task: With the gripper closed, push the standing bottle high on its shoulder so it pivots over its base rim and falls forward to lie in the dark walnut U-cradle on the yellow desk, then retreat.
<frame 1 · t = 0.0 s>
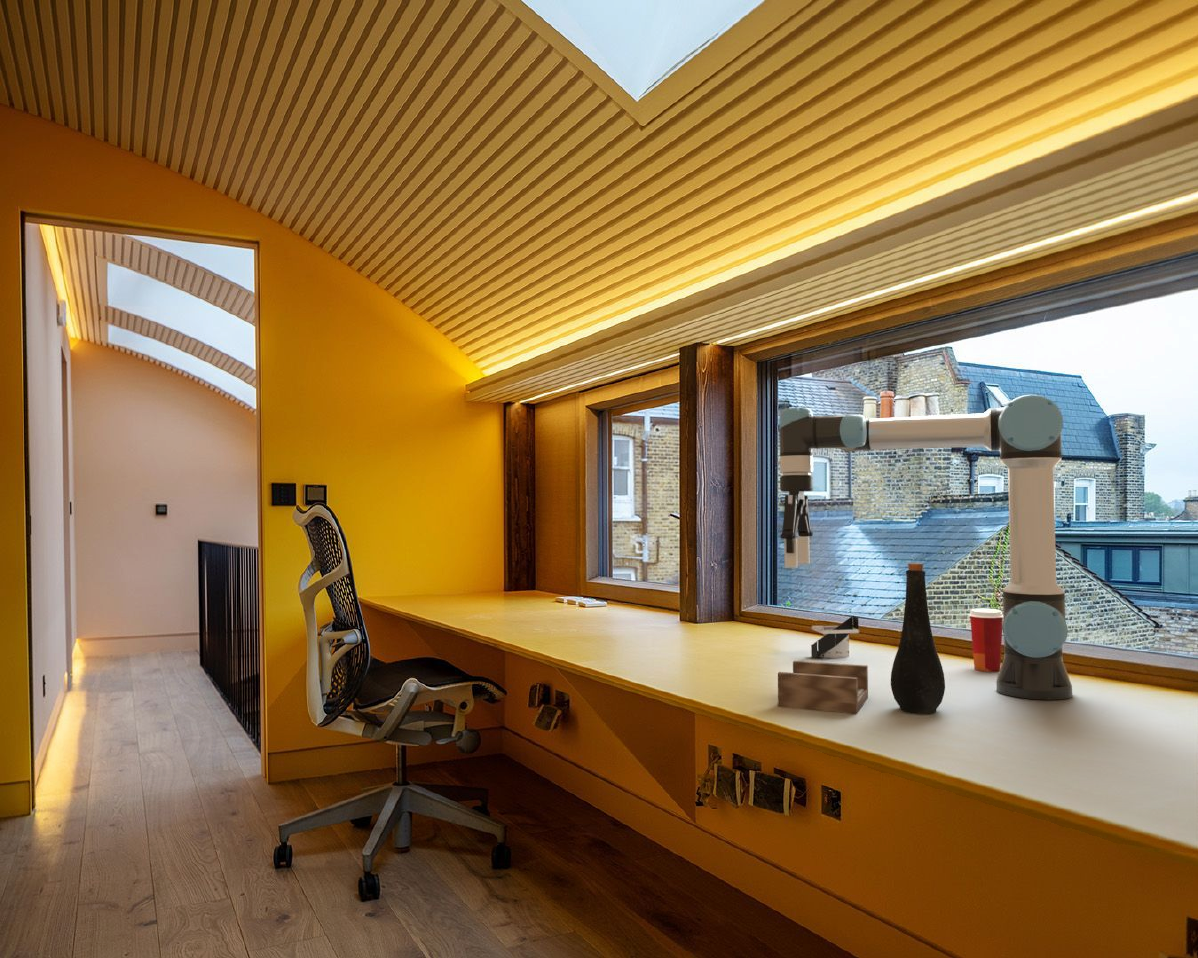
hand: (797, 565, 205), 28 cm above the table, fingers open, 13 cm apart
bottle: (918, 711, 181), on the table
cradle: (824, 702, 189), on the table
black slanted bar: (835, 661, 241), on the table
coffee cup: (986, 670, 224), on the table
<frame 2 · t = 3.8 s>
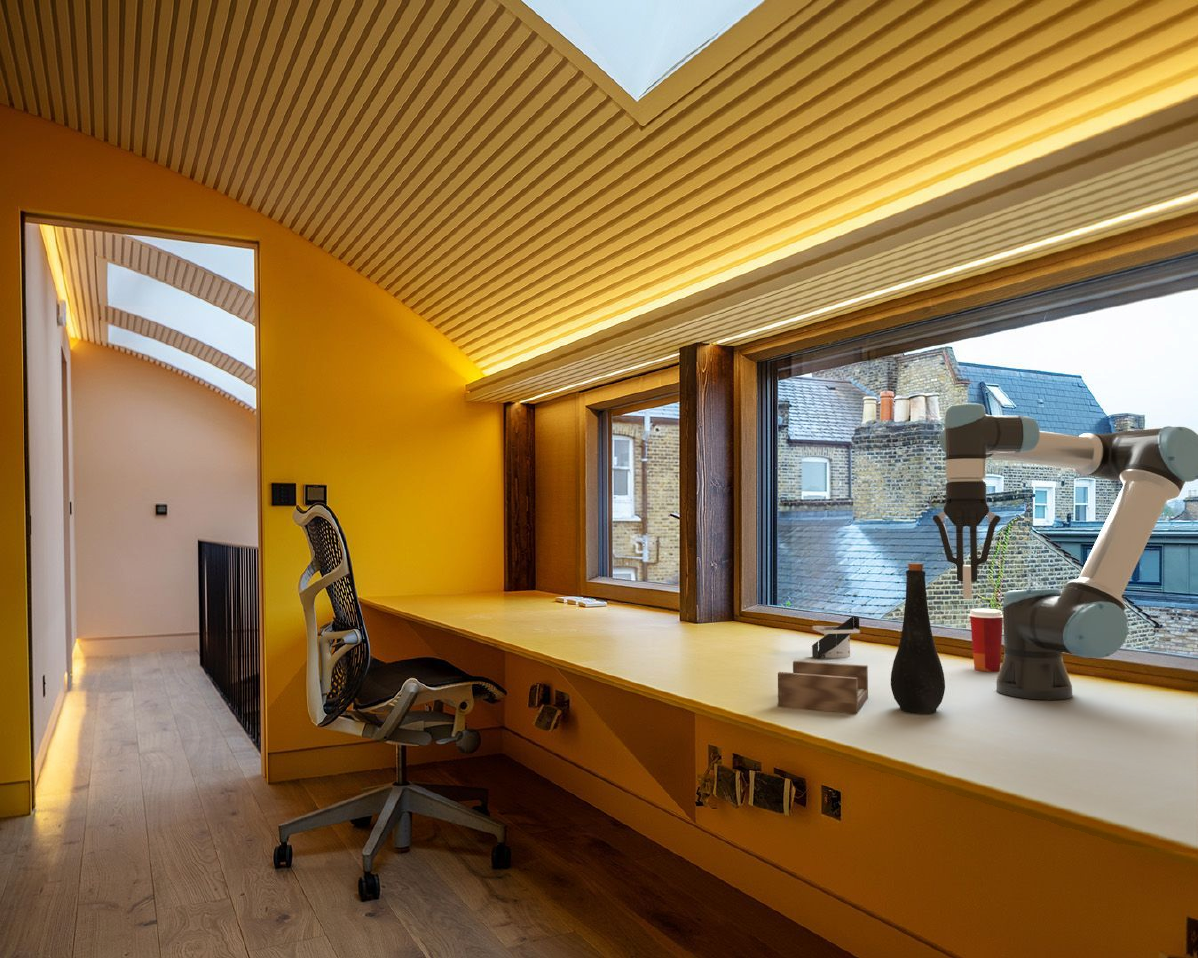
hand: (967, 598, 177), 23 cm above the table, fingers closed
nothing on the table moved.
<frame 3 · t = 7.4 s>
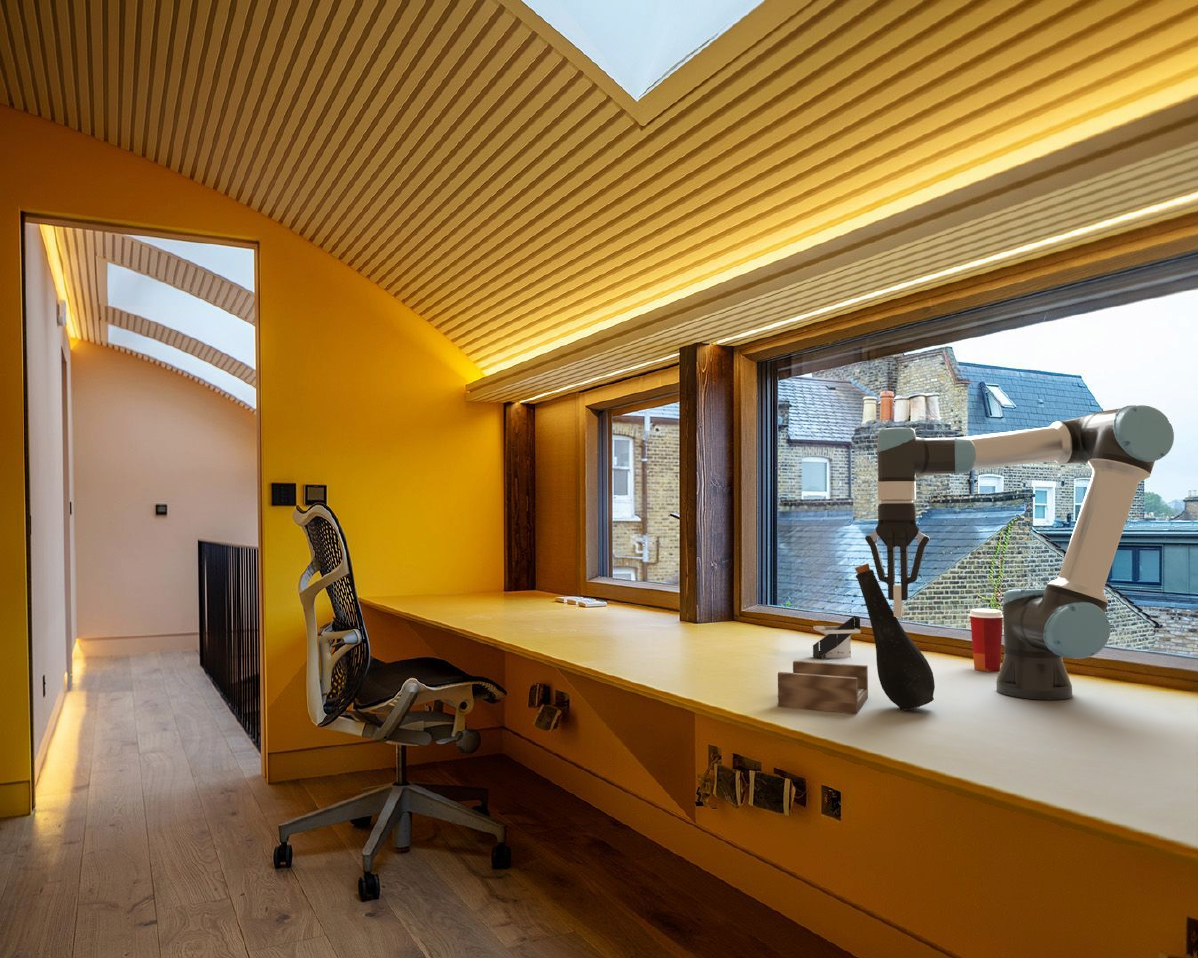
hand: (898, 616, 183), 19 cm above the table, fingers closed
bottle: (917, 704, 181), point 1 cm above the table
everything else where it was.
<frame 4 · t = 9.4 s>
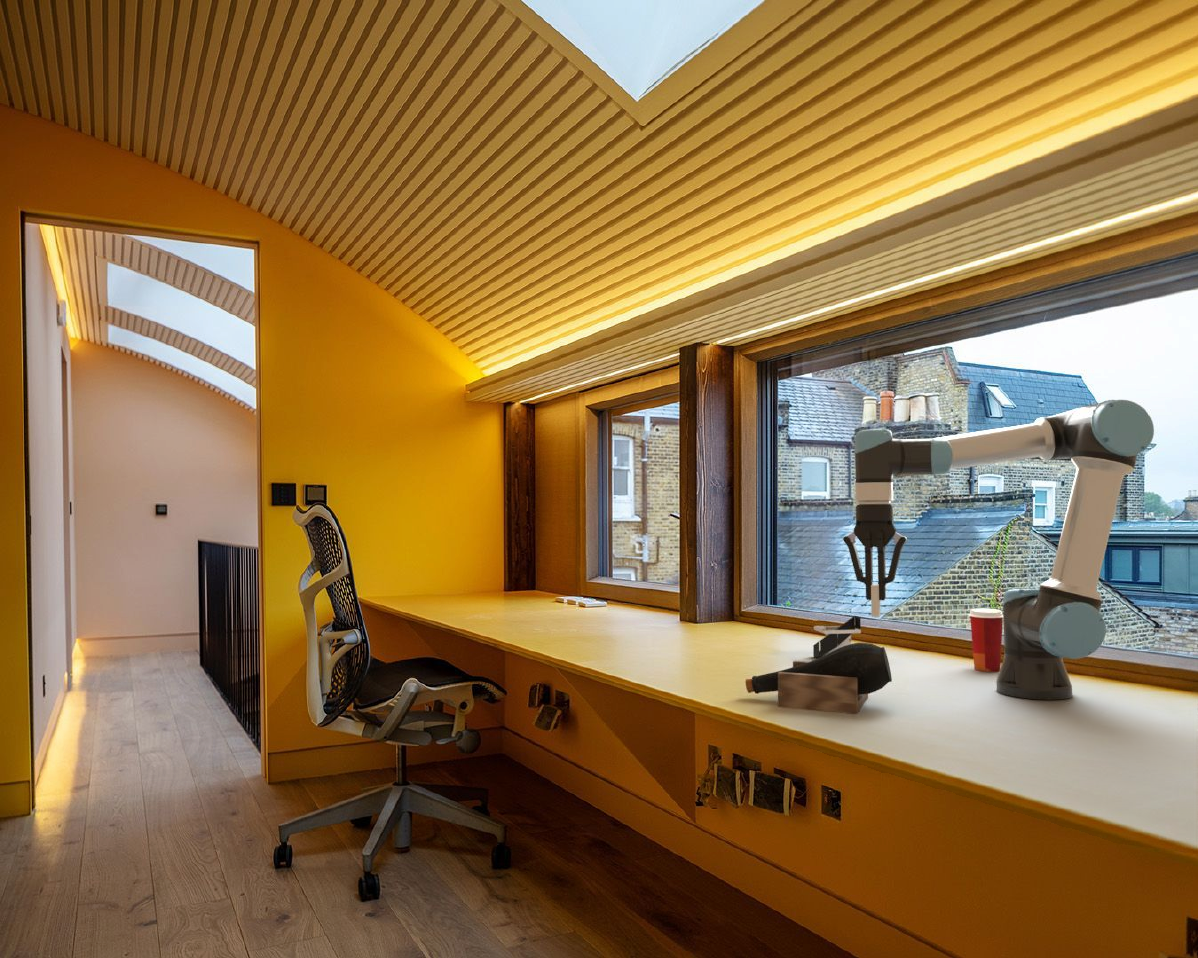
hand: (876, 615, 185), 19 cm above the table, fingers closed
bottle: (888, 663, 183), point 9 cm above the table, touching cradle
everything else where it was.
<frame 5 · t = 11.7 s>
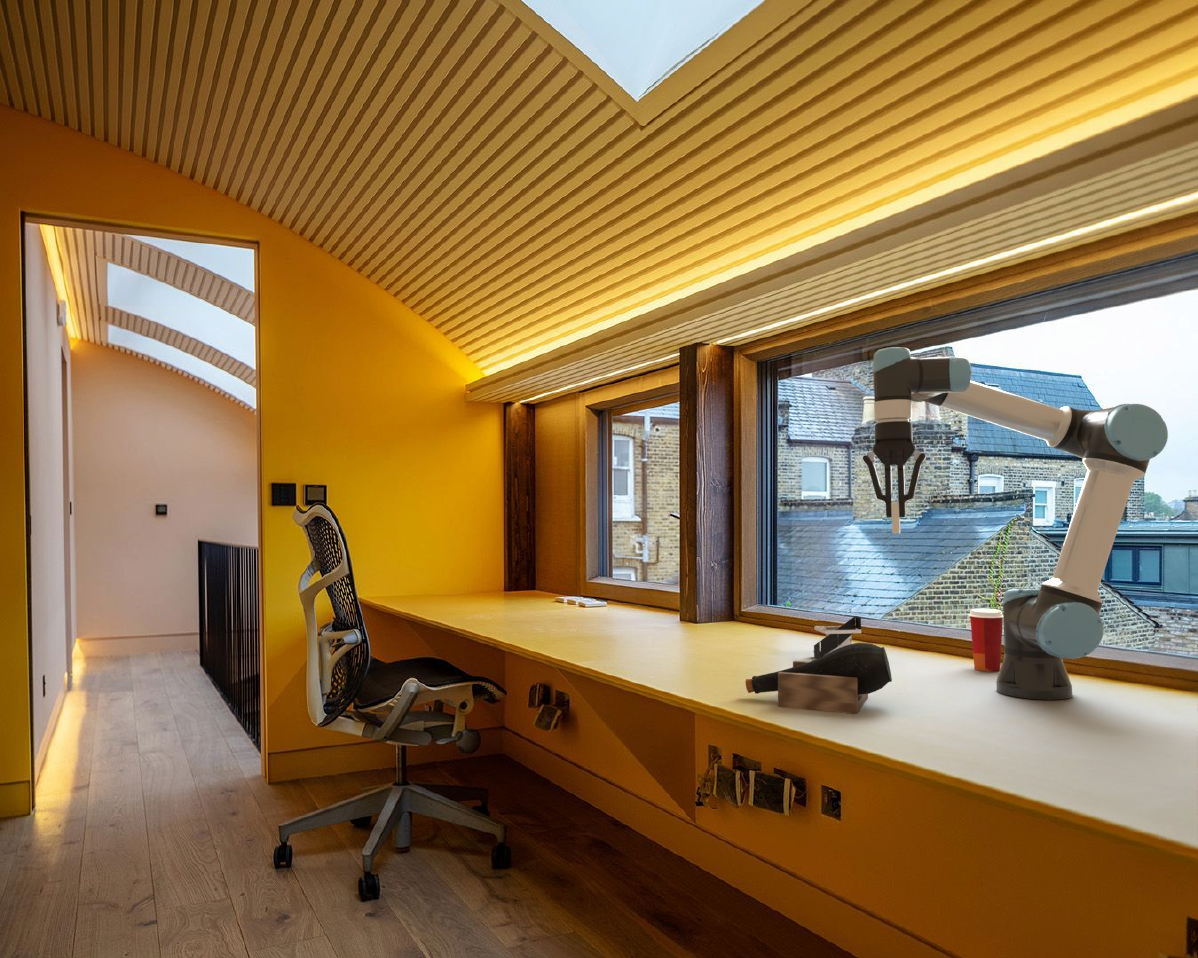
hand: (896, 533, 186), 36 cm above the table, fingers closed
nothing on the table moved.
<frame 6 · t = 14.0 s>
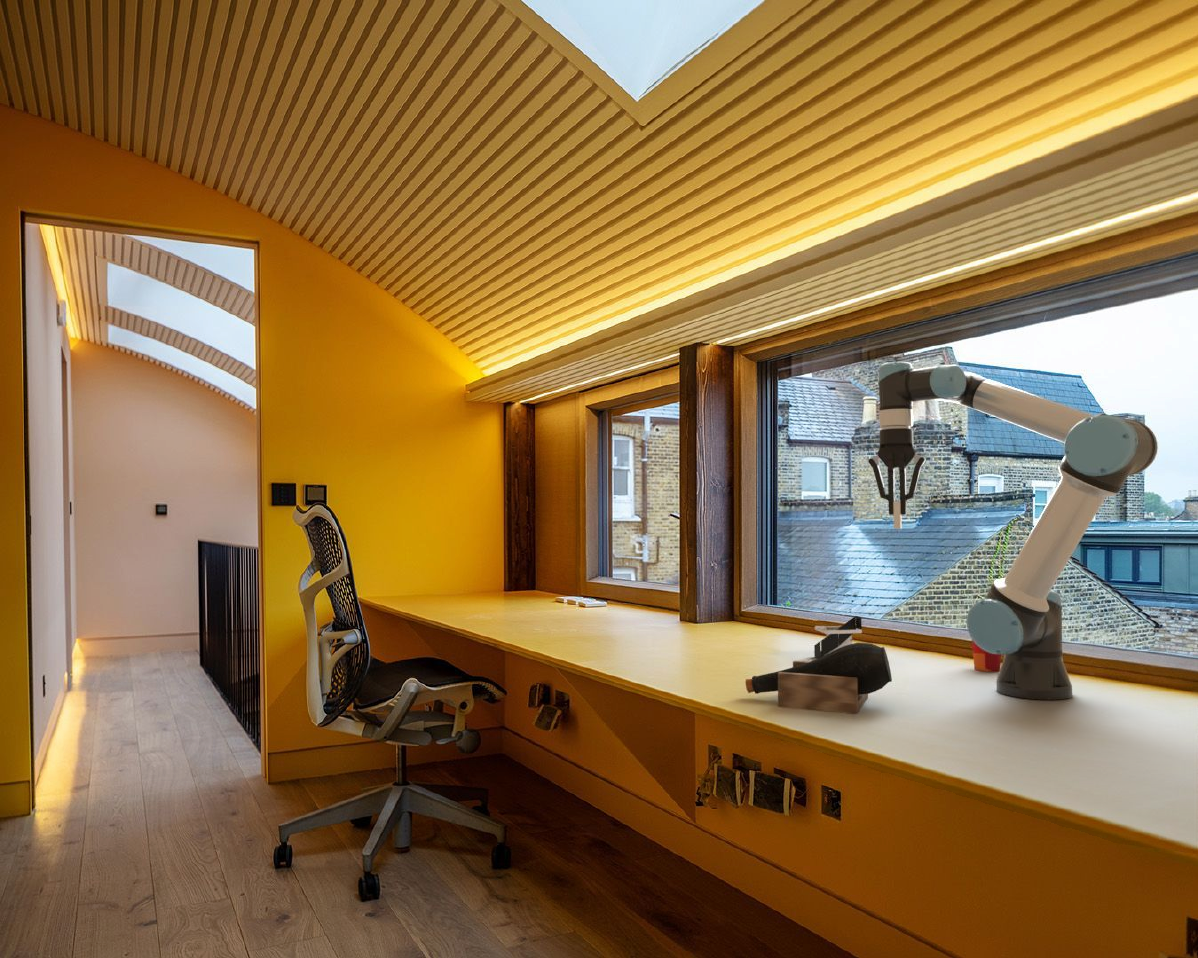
hand: (897, 528, 207), 36 cm above the table, fingers closed
nothing on the table moved.
at the end: bottle tilted 102°; bottle inside the target area (6.4 cm from its centre), point 9.1 cm above the table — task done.
